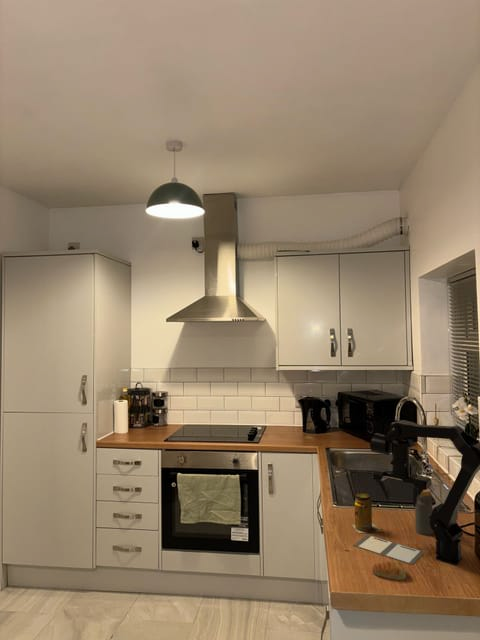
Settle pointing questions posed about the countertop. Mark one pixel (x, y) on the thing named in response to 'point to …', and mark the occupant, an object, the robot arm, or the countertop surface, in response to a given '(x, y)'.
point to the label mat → (389, 549)
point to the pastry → (390, 570)
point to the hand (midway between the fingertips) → (401, 503)
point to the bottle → (423, 513)
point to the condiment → (364, 515)
